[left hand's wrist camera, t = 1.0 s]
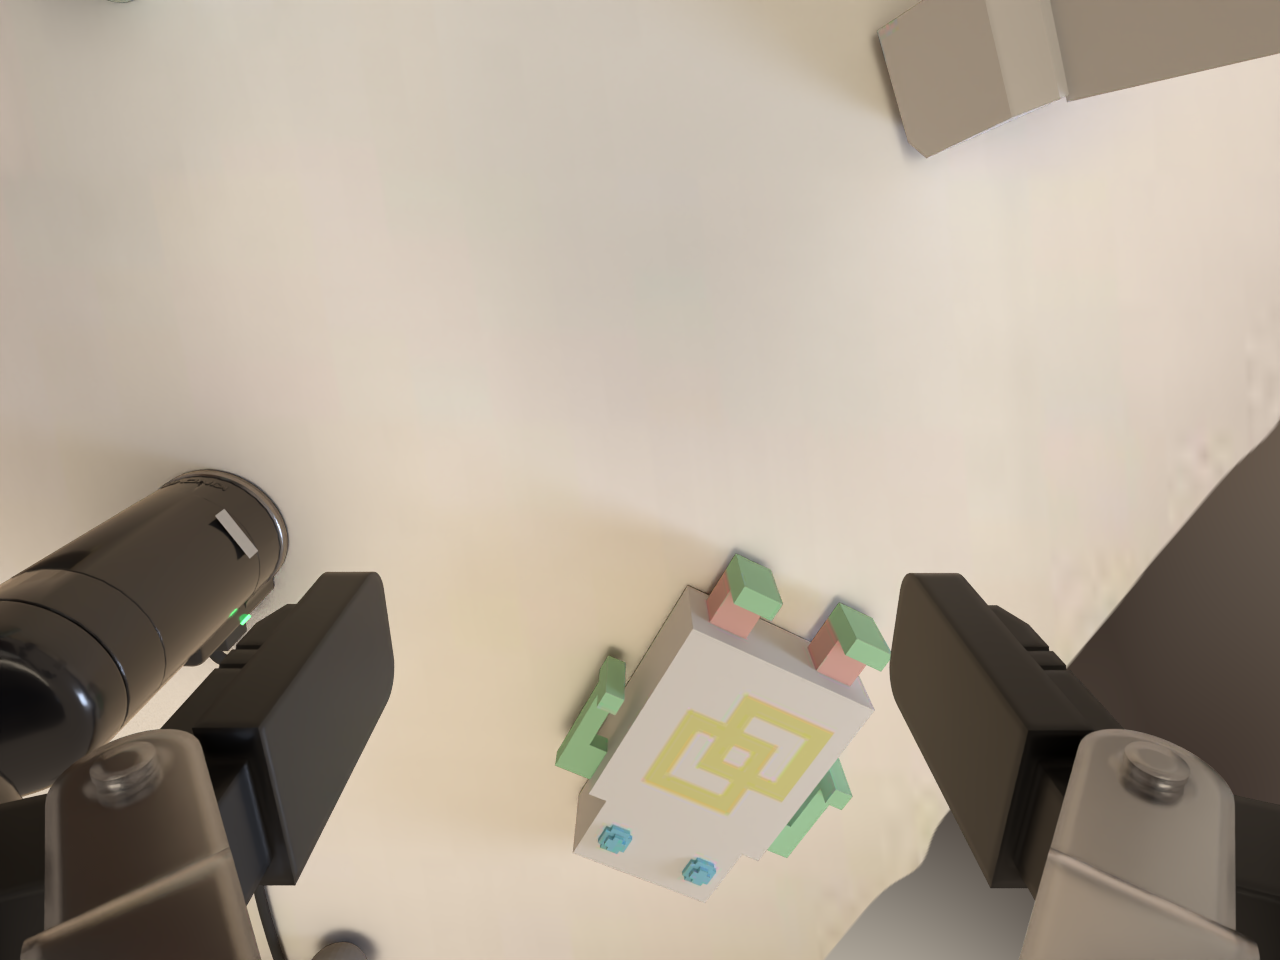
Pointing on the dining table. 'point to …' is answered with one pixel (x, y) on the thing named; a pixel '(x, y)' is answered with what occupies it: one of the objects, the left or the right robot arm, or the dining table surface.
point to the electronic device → (1053, 55)
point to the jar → (120, 1)
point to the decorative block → (719, 736)
